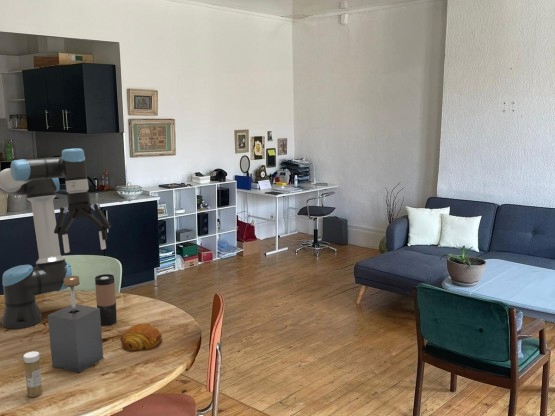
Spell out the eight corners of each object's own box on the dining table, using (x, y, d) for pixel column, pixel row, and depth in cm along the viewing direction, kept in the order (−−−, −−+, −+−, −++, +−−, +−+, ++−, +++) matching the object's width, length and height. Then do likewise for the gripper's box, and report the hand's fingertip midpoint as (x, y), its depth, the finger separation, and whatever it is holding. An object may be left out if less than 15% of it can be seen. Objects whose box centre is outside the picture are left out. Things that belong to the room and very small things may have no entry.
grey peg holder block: (52, 366, 194) (47, 315, 190) (77, 352, 204) (73, 303, 201) (79, 373, 189) (74, 320, 185) (103, 358, 200) (99, 308, 196)
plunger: (56, 336, 192) (51, 280, 189) (75, 327, 200) (70, 272, 196) (76, 341, 189) (71, 283, 185) (94, 331, 197) (90, 275, 193)
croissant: (115, 354, 208) (111, 335, 206) (138, 332, 222) (135, 314, 220) (148, 358, 203) (145, 339, 201) (170, 336, 217) (167, 318, 215)
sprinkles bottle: (24, 394, 175) (20, 354, 173) (38, 388, 179) (34, 349, 176) (31, 399, 172) (27, 358, 170) (45, 393, 176) (41, 353, 173)
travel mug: (120, 319, 236) (117, 274, 232) (113, 326, 228) (109, 279, 224) (102, 319, 236) (99, 273, 233) (95, 326, 229) (91, 279, 225)
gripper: (39, 196, 196) (47, 255, 198) (107, 189, 194) (115, 249, 196) (49, 194, 204) (57, 252, 205) (115, 188, 202) (122, 246, 203)
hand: (85, 250), depth 200 cm, fingers open, 13 cm apart
